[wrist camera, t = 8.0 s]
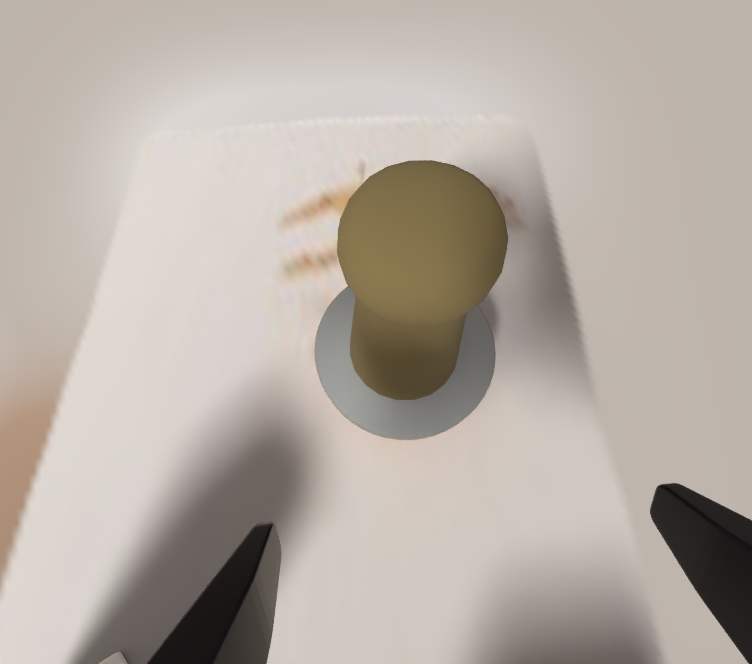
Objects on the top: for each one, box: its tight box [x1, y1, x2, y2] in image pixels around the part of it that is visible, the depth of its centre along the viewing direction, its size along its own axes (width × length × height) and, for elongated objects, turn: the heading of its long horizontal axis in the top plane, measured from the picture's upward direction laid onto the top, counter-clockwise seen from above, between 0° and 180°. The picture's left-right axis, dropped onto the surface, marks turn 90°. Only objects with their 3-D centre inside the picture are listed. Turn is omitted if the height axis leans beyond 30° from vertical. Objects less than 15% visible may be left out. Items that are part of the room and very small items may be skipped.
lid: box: [315, 286, 495, 440], centre depth 20 cm, size 10×10×1 cm
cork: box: [337, 160, 508, 400], centre depth 15 cm, size 6×6×11 cm
